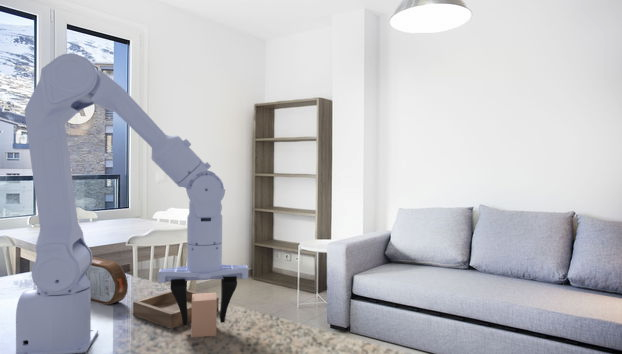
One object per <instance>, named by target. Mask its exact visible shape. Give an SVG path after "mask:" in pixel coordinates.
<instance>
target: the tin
mask: <svg viewBox="0 0 622 354" xmlns="http://www.w3.org/2000/svg"><path fill="white" fill-rule="evenodd" d="M92 257H93V259H92V264H91V266H90V268H89V269H88V270H87V272H85V274H86V276H87V278H88V279H89V280H90V282H91V285H90V286H91V301H94V302H97V303H100V304H104V305H113V304H115V303H117V302H121V301H123V300H124V299H125V297H127V293H128V289H129V288H128V287H129V286H128V285H129V284H128V278H127V275H126V272H125V271H124V269H123V267H122V266H121V265H120V264H119V263H118V262H116V261H113V260H110V259H109V260H107V259H102V258H99V257H95V256H92Z"/></svg>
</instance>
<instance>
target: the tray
mask: <svg viewBox="0 0 622 354" xmlns="http://www.w3.org/2000/svg"><path fill="white" fill-rule="evenodd" d="M199 293H200V292H199V291H194V290H190V289H187V311H188V322H187V324H189V323H190V322H192V294H199ZM216 298H217V312H220V310H219V307H220V306H219V303H220V301H219V297H217V296H216ZM132 315H133V316H134V317H137V318H141V319H143V320H146V321H147V322H151V323H154V324H156V325H161V326H162V327H165V328H168V329H170V330H172V329H174V328H177V327H179V326H180V327H181V326H183V321H182V316H181V312H180V309H179V306H178V303H177V301H176V299H175V297H174V295H173V293H172V291H171V290H169V291H166V292H165V291H164V292H163V293H158V294H155V295H151V296H148V297H145V298H142V299H137V300H135V301H133V302H132Z"/></svg>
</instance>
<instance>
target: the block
mask: <svg viewBox="0 0 622 354" xmlns="http://www.w3.org/2000/svg"><path fill="white" fill-rule="evenodd" d="M216 297H217V292H203V293H201V292H199V294H192V321H191V334H190V335H191V338H197V337H198V338H200V337H212V336H217V320H218V319H217V314H218V313H217V312H218V311H217V298H218V297H217V298H216Z"/></svg>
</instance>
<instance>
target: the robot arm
mask: <svg viewBox="0 0 622 354" xmlns="http://www.w3.org/2000/svg"><path fill="white" fill-rule="evenodd" d="M39 77H40V78H39V81H38V83H37V85H35V86H36V87H35V88H34V90H33V92H32V94H31V96H30V98H29V100H28V102H27V104H26V106H25V108H24V118H25V119H24V120H25V126H26V133H27V134H26V135H27V140H28V141H27V142H28V149H29V156H30V162H31V164H30V165H31V172H32V179H33V187H34V193H35V201H36V207H37V215H38V223H39V233H38V236H37V240H36V244H35V251H36V257H35V261H34V263H33V265H32V268H31V278H32V281H33V283H34V285H35V286H36V288H35V289H28V290H24V291H23V292H22V293H21V294H20V296H19V298H18V301H17V304H16V310H15V311H16V312H15V354H82V353H83V354H84V353H86V352H87V351H88V350H89V348H90V346H91V345H92V343H93V342H94V340H95V338H96V337H97V335H98V333H99V330H98V329H97V328H96V329H92V323H91V322H92V321H91V320H92V317H91V314H92V313H91V309H92V308H91V303H92V300H91V286H90V285H91V282H90V280H89V279H88V278H87V276H86V274H85V272H87V270H88V269H89V268H90V266H91V264H92V259H93V257H94V256H93V252H92V250H91V248H90V247H89V246H88V245H87V243H86V241H85V238H84V232H83V230H82V227H81V226H80V224H79V220H78V212H77V205H76V199H75V197H76V195H75V190H74V181H73V175H72V166H71V159H70V158H71V157H70V152H69V151H70V150H69V143H68V135H67V126H66V124H67V123H68V122H70V120H71V119H72V118H74V117H75V115H77V114H78V113H79V112H80V111H82V110H83V109H86V108H89V107H91V106H93V105H96V106H98V107H100V108H102V109H105V110H108V111H111V112H114V113H115V114H117V116H118V117H119V118H121V120H122V121H123V122H125V123H126V124H127V126H129V128H131V129H132V130H133V131H134V132H135V133H137V135H138V136H139V137H141V139H142V140H144V141H145V143H147V144H148V146H149V147H150V148H151V160H152V161H153V162H154V164H155V165H156V166H158V167H159V168H160V169H161V170H162V171H163V172H164V173H165V175H167V177H169V178H170V180H172V181H173V182H174V183H175V185H176V186H177V187H179V188H185V189H186V193H187V198H188V200H189V201H188V202H189V207H188V215H187V219H186V220H187V221H186V222H187V224H186V225H187V229H186V233H187V234H186V237H187V239H186V242H187V244H186V249H187V250H186V265H185V266H184V265H183V266H177V267H176V266H175V267H168V268H159V269H158V284H166V283H169V282H170V286H169V287H170V291H172V293H173V295H174V297H175V299H176V301H177V303H178V306H179V309H180V312H181V316H182V321H183V325H182V326H188V323H189V322H188V311H187V290H188V282H189V281H208V280H209V281H210V280H220V281H221V282H220V283H221V284H220V285H221V286H220V288H221V289H220V291H221V292H220V293H221V295H220V296H221V298H220V306H219V307H220V310H219V321H220V323H221V324H222V323H223V324H224V323H225V321H226V316H227V315H226V314H227V312H228V308H229V304H230V301H231V299H232V297H233V295H234V292H235V291H236V288H237V286H238V280H237V279H242V280H248V279H249V267H248V265H247V264H242V265H241V264H240V265H239V264H236V265H235V264H222V263H223V258H222V257H223V215H222V210H223V205H222V200H223V199H224V196H225V194H226V189H225V188H224V183H223V181H222V179H221V178H220V177H219V176H218V175H217V174H216V173H215V172H213V171H211V170H209V169H210V168H211V167H212V165H211V164H210V162H207V161H206V162H204V161H203V160H202V159H201V158H200V157H199V156H198V154H197V153H196V152H195V151H194V150H193V149H191V148H190V147H191V146H192V143H191V142H190V141H189V140H188V139H187V138H185V139H184V140H183V139H182V138H181V136H179V135H172V134H171V135H169V134H166V133H165V132H164V131H163V130H162V129H161V127H159V126H158V124H157V123H156V122H155V121H154V120H153V119H152V118H151V117H150V116H149V114H147V112H145V110H144V109H143V108H142V107H141V106H140V105H139V104H138V103H137V102H136V100H134V98H133V97H132V96H131V95H130V94H129V93H128V92H127V91H126V90H125V89H124V88H123V86H121V85H119V84H118V82H116V81H115V80H114V79H112V78H111V77H110V76H109V75H107V74H106V73H105V72H103V71H102V70H101V69H99V70H98V69H97V68H96V66H95V65H94V64H93V63H92V62H91V60H90V59H88V58H87V57H85V56H84V55H82V54H78V53H73V52H72V53H63V54H61V55H58V56H57V57H55V58H54V59H53V60H51V61H50V62H49V63H47V64H46V65H45V66H43V67H42V68H41V71H40V76H39ZM187 322H188V323H187Z"/></svg>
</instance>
